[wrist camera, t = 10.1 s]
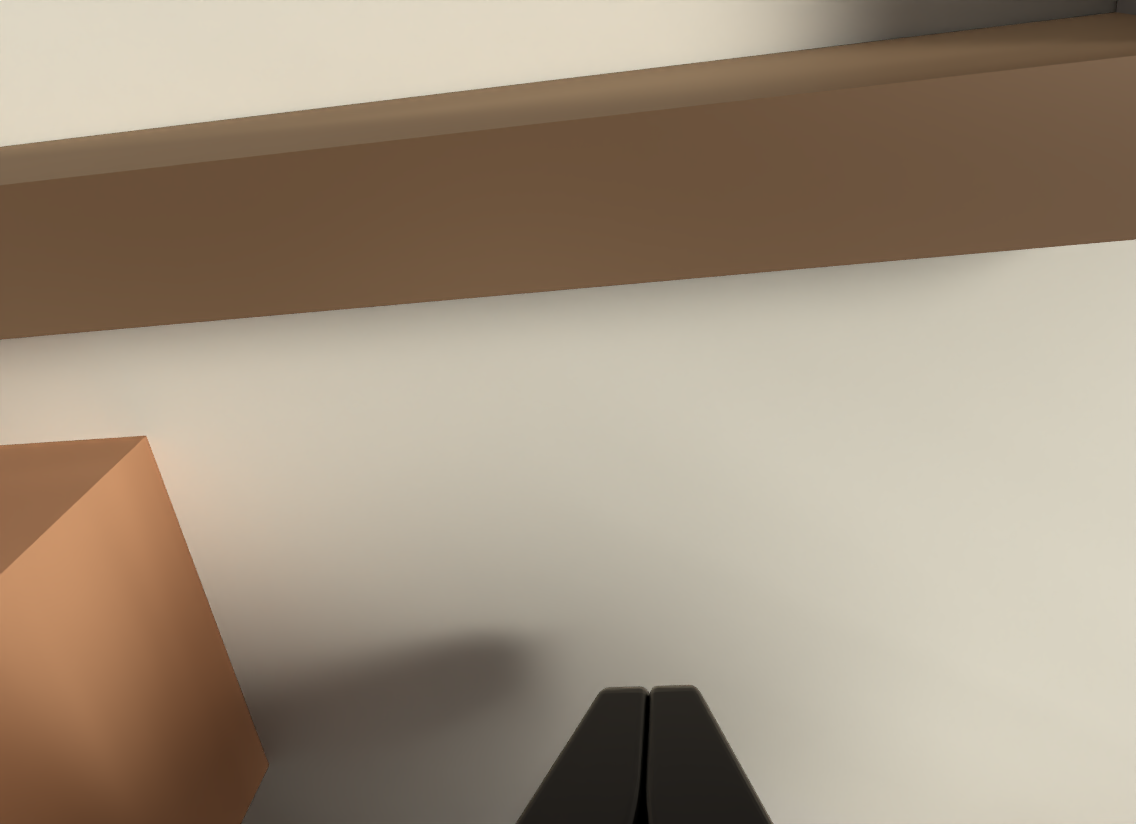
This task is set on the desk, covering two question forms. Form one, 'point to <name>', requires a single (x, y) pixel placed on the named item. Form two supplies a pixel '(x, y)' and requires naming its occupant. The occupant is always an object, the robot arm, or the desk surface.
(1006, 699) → the desk surface
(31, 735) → the wooden cube
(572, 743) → the robot arm
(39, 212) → the lane walls
